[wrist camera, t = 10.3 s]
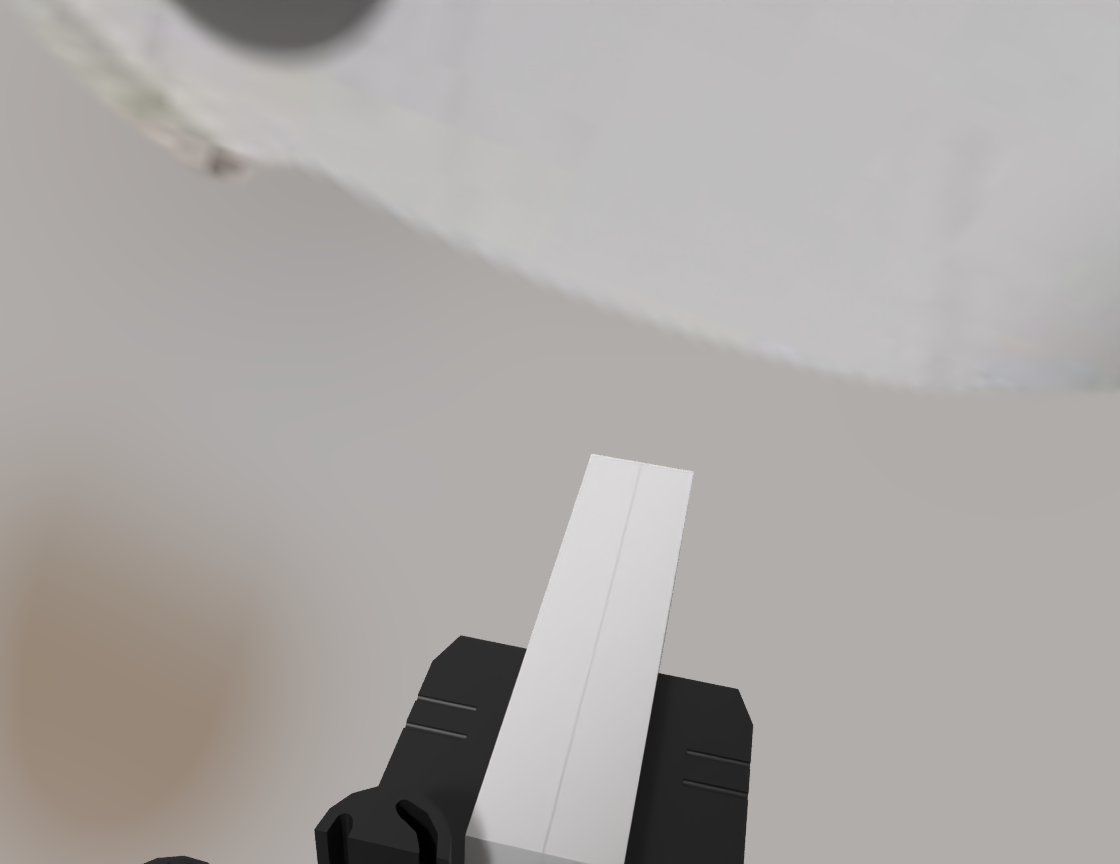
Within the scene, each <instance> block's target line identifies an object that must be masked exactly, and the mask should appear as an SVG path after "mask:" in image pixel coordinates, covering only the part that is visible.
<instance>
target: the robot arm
mask: <svg viewBox="0 0 1120 864" xmlns="http://www.w3.org/2000/svg"><path fill="white" fill-rule="evenodd" d="M692 477H693V471H686V470H680V469H675V468H670V467H664V466H658V465H652V464H647V463H641V462H635V461H630V460H623V459H618V458H612V457H607V456H601V455H595V454H591V457H590V460H589V463H588V466H587V469H586V472H585V475H584V478H583V481H582V484H581V487H580V490H579V493H578V496H577V499H576V503H575V505H574V508H573V511H572V514H571V518H570V521H569V524H568V527H567V530H566V533H565V536H564V539H563V542H562V545H561V548H560V551H559V554H558V557H557V560H556V563H555V566H554V569H553V572H552V575H551V578H550V581H549V584H548V587H547V590H546V593H545V596H544V599H543V602H542V605H541V608H540V611H539V614H538V617H537V620H536V623H535V627H534V629H533V632H532V635H531V639H530V641H529V645H528V647H527V649H525V648H520V647H515V646H510V645H505V644H500V643H496V642H490V641H485V640H480V639H476V638H471V637H465V636H460V637H458V638H457V639H456V640H455V641H454V642H453V643H452V644H451V645H450V646H449V647H447V648H446V649H445V650H444V651H443V652H442V653H441V654H440V655H439V656H438V657H437V658H436V659H434V660H433V662H432V663H431V666H430V669H429V671H428V673H427V675H426V677H425V680H424V682H423V684H422V687H421V689H420V691H419V694H418V699H417V701H415V703H414V705H413V708H412V710H411V712H410V714H409V717H408V719H407V723H406V727H405V728H403V731H402V733H401V735H400V737H399V740H398V743H397V744H396V747H395V749H394V752H393V754H392V756H391V758H390V761H389V763H388V765H387V768H386V770H385V772H384V774H383V777H382V779H381V782H380V784H379V786H377V787H374V788H370V789H366V790H363V791H359V792H356V793H352V794H351V795H349V796H348V797H346V798H345V799H343V800H342V801H340V802H339V803H337V804H336V805H334V806H333V807H331V808H330V809H329V810H328V812H327V813H326V814H325V816H324V817H323V819H322V820H321V821H320V822H319V824H318V825H317V827H316V828H315V840H316V850H317V860H318V864H744V850H745V836H746V821H747V807H748V800H747V799H748V792H749V777H750V762H751V747H752V734H753V724H752V721H751V719H750V716H749V714H748V712H747V709H746V707H745V704H744V702H743V699H742V697H741V695H740V692H739V690H738V689H735V688H730V687H725V686H719V685H715V684H710V683H705V682H700V681H695V680H690V679H685V678H680V677H675V676H670V675H665V674H661V673H659V669H660V663H661V658H662V652H663V646H664V641H665V635H666V629H667V623H668V618H669V612H670V606H671V601H672V595H673V589H674V583H675V577H676V571H677V566H678V560H679V554H680V548H681V542H682V536H683V530H684V524H685V518H686V513H687V507H688V501H689V495H690V489H691V483H692ZM144 864H209V863H207V862H204V861H201V860H197V859H194V858H190V857H187V856H178V857H177V856H176V857H165V858H156V859H154V860H151V861H149V862H147V863H144Z"/></svg>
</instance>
